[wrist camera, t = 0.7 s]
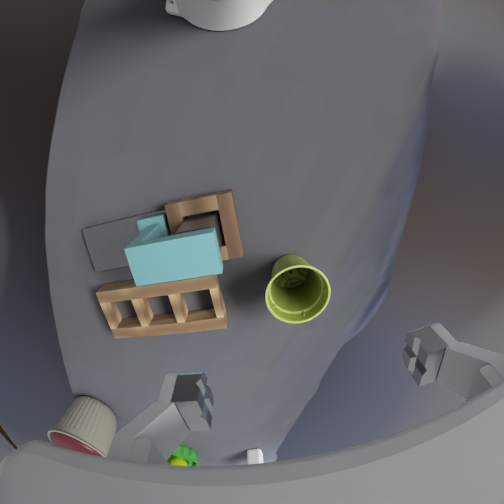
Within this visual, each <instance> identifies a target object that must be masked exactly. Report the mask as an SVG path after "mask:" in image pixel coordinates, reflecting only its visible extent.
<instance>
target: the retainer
mask: <svg viewBox="0 0 504 504" xmlns="http://www.w3.org/2000/svg"><path fill="white" fill-rule="evenodd" d="M137 223H138V227H139V231H140V235H139V236H138V237H137V238H135V239H134V240H133V241H132V242H131V243H130V244H129V245H128V246H127V247H126V248H125V249H124V250H125V253H126V257H127V260H128V263H129V266H130V269H131V272H132V275H133V278H134V281H135V284H136V286H143V285H150V284H157V283H164V282H170V281H177V280H183V279H190V278H197V277H203V276H209V275H216V274H222V271H223V263H222V259H221V254H220V249H219V245H218V240H217V235H216V231H215V227H214V228H208V229H203V230H197V231H192V232H186V233H181V234H176V235H170V233H169V229H168V225H167V221H166V217H165V214H161V215H156V216H151V217H147V218H142V219H139V220H138V221H137Z"/></svg>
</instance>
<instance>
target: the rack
mask: <svg viewBox="0 0 504 504" xmlns="http://www.w3.org/2000/svg"><path fill="white" fill-rule="evenodd" d="M206 289H209V290H210V294H211V298H212V302H213V306H214V308H210V309H203V310H195V311H188V308H187V305H186V302H185V299H184V295H183V293H186V292H193V291H200V290H206ZM164 295H168V296H169V299H170V303H171V305H172V308H173V311H174V313H171V314H162V315H153V313H152V310H151V307H150V304H149V302H148V299H147V298H149V297H157V296H164ZM96 296H97V298H98V300H99V303H100V305H101V308H102V310H103V312H104V315H105V317H106V319H107V321H108V324H109V326H110V328H111V330H112V332H113V334H114V337H115V338H130V337H144V336H156V335H168V334H178V333H188V332H197V331H205V330H214V329H221V328H227V318H228V316H227V312H226V308H225V304H224V300H223V296H222V292H221V288H220V283H219V279H218V275H217V274H216V275H209V276H203V277H197V278H190V279H183V280H177V281H170V282H164V283H157V284H150V285H143V286H136V284H135V281H134V279H133V280H127V281H120V282H114V283H107V284H103V285H102V286H101V287H100V288H99V289H98V290H97V292H96ZM125 300H131V301H132V304H133V306H134V309H135V311H136V314H137V316H138V317H134V318H124V319H122V317H121V314H120V312H119V309H118V307H117V305H116V302H117V301H125Z"/></svg>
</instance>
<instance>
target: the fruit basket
mask: <svg viewBox="0 0 504 504" xmlns="http://www.w3.org/2000/svg"><path fill="white" fill-rule="evenodd" d="M167 462H168V463H169V464H170V465H175V466H197V465H198V464H199V463H198V461H197V456H196V451H195V450H193V449H189V448H187V447H184V446H181V445H179V446H178V448H177V449H176V450H175V451H174V452H173V454H172V455H171V456H170V457H169V458H168V460H167Z"/></svg>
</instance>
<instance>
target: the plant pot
mask: <svg viewBox="0 0 504 504" xmlns="http://www.w3.org/2000/svg"><path fill="white" fill-rule="evenodd" d="M303 268H305V271H303ZM289 271H292V273H289ZM277 276H278V277H279V279H278V278H276V277H277ZM295 282H297V283H296V284H293V285H290V283H295ZM329 299H330V285H329V282H328V280H327V278H326V277H325V275H324V274H323V273H322V272H321V271H319V270H318V269H316V268H314V267H312V266H310V265H309V264H308V263H307V262H306V261H305V260H304V259H303V258H301V257H299V256H297V255H285V256H283V257H281V258H279V259H278V260H277V262H276V263H275V264H274V266H273V269H272V278H271V280H270V282H269V283H268V285H267V288H266V292H265V300H266V304H267V307H268V309H269V311H270V312H271V313H272V314H273V315H274V316H275V317H276V318H278V319H279V320H281V321H284V322H287V323H303V322H306V321H309V320H311V319H313V318H315V317H316V316H318V315H319V314H320V313H321V312H322V311H323V310H324V309H325V307H326V306H327V304H328V302H329Z"/></svg>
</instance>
